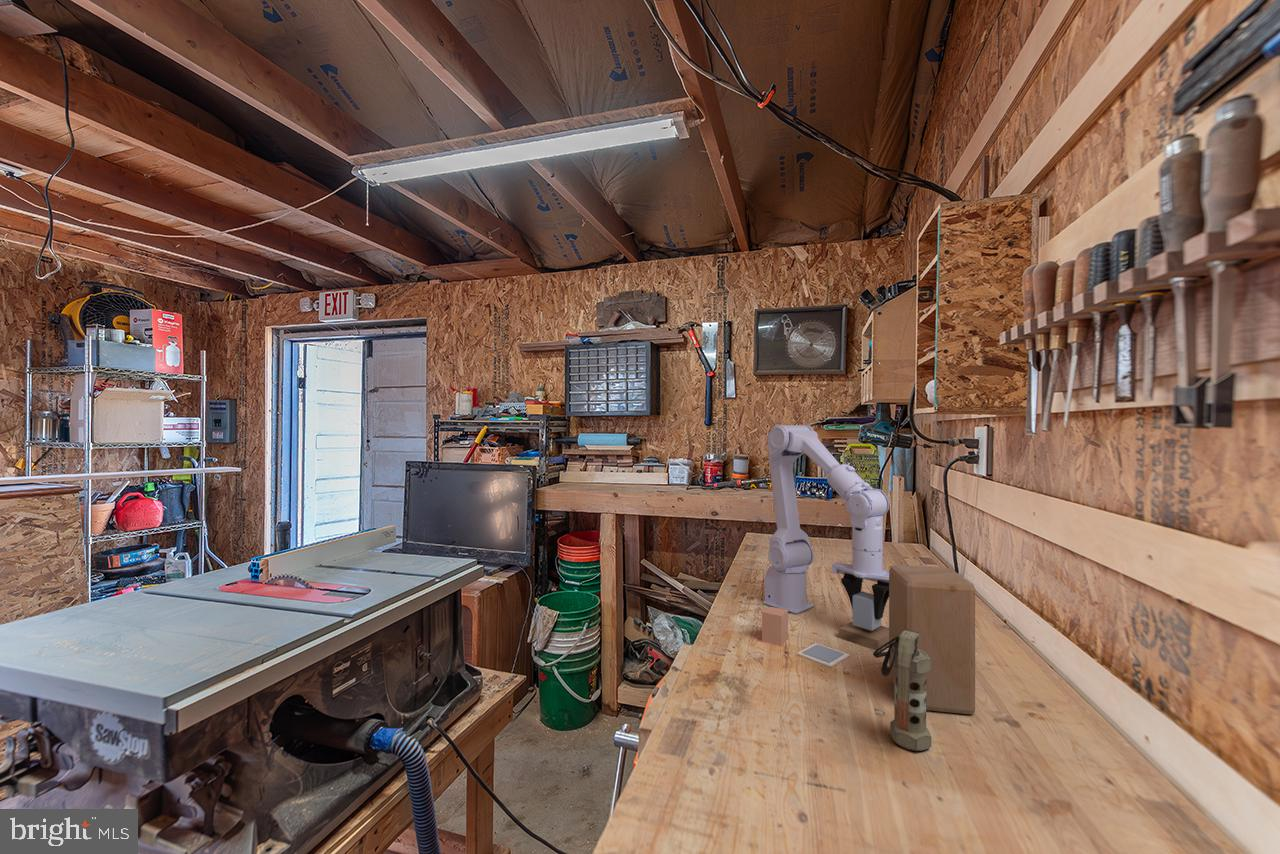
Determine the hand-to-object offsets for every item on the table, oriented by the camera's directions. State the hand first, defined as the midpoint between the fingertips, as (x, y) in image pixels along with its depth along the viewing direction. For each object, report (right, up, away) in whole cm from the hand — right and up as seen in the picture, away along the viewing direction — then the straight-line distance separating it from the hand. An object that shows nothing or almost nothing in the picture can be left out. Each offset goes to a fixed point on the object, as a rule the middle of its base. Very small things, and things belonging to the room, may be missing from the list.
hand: (867, 614), depth 104 cm
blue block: (0, -2, 0) cm, 2 cm away
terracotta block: (-19, -5, -1) cm, 20 cm away
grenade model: (-11, -5, -35) cm, 37 cm away
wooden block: (0, -5, -23) cm, 23 cm away
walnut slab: (0, -5, 0) cm, 5 cm away
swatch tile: (-12, -5, -8) cm, 15 cm away
